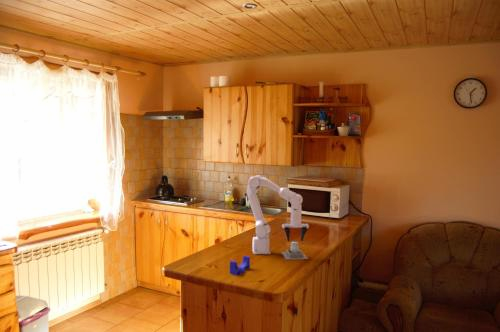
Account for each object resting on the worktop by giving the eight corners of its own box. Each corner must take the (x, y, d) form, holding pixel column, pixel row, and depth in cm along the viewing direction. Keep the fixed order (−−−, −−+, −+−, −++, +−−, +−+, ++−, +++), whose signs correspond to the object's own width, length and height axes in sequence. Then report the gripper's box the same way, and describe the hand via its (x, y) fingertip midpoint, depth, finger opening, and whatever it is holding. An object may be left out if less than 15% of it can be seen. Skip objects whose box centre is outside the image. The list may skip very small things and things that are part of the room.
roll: (291, 256, 216) (291, 244, 215) (289, 254, 220) (290, 241, 220) (299, 256, 216) (299, 244, 215) (297, 254, 220) (298, 241, 220)
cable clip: (237, 275, 186) (237, 263, 186) (229, 273, 189) (230, 261, 188) (251, 269, 196) (252, 257, 195) (244, 267, 198) (245, 255, 198)
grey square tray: (286, 259, 211) (286, 255, 211) (281, 253, 223) (281, 248, 223) (307, 259, 213) (308, 254, 213) (301, 252, 225) (302, 248, 225)
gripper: (284, 218, 212) (283, 242, 213) (310, 218, 214) (309, 242, 215) (281, 215, 218) (280, 239, 220) (307, 215, 221) (305, 239, 222)
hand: (294, 240), depth 218 cm, fingers open, 7 cm apart
